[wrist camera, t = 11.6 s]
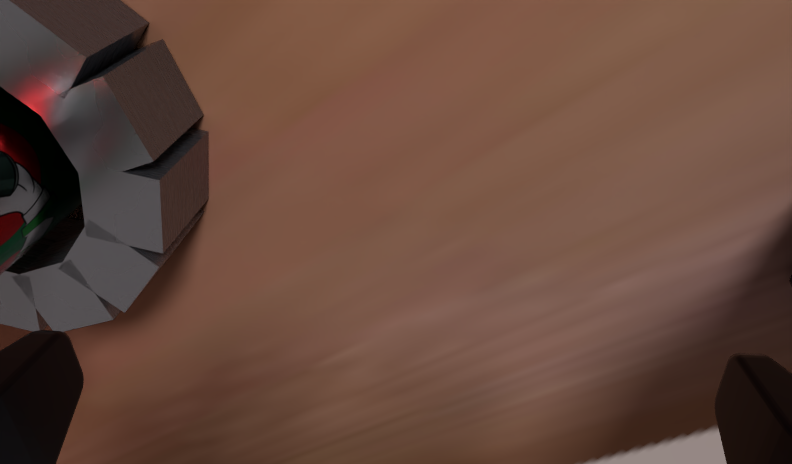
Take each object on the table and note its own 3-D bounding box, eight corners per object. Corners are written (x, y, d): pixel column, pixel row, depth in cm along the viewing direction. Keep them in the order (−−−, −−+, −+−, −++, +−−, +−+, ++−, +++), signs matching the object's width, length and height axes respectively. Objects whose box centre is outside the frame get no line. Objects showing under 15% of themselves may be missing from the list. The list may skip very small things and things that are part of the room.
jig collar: (207, -14, 20) (151, 16, 17) (208, 301, 26) (168, 363, 23) (-172, -91, 20) (-290, -74, 18) (-79, 235, 27) (-153, 287, 24)
